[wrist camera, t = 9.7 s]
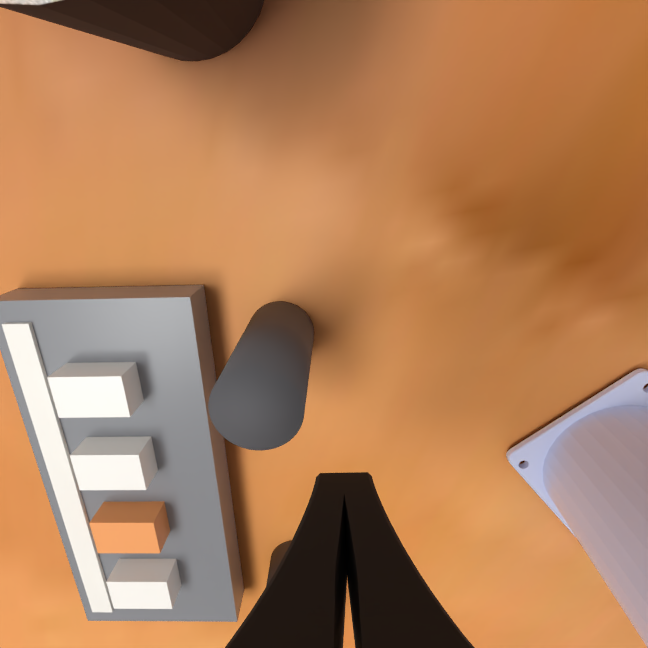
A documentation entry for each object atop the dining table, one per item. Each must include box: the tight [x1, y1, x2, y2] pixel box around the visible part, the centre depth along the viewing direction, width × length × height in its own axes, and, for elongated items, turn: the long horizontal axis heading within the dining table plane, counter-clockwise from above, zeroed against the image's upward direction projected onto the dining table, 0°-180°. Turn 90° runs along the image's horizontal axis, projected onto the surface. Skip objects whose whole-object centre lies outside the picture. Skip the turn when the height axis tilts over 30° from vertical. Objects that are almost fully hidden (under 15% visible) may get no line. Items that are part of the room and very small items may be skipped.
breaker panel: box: [0, 285, 244, 622], centre depth 22 cm, size 20×9×3 cm, turn 2°
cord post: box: [208, 301, 314, 450], centre depth 17 cm, size 3×3×7 cm
